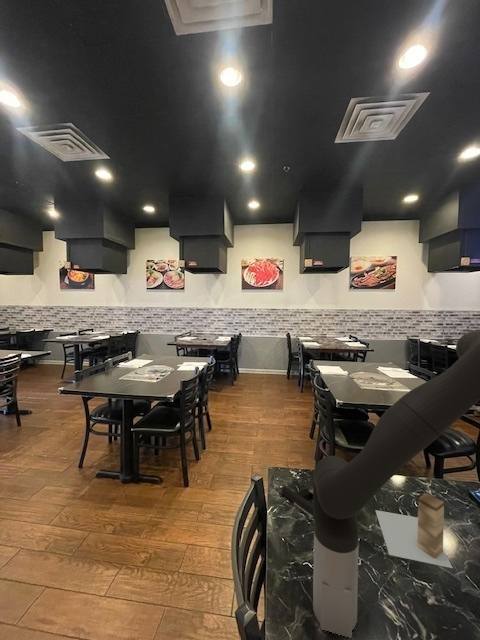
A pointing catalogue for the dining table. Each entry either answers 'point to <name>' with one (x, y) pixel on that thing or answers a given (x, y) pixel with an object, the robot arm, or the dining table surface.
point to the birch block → (430, 525)
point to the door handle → (300, 499)
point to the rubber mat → (405, 538)
